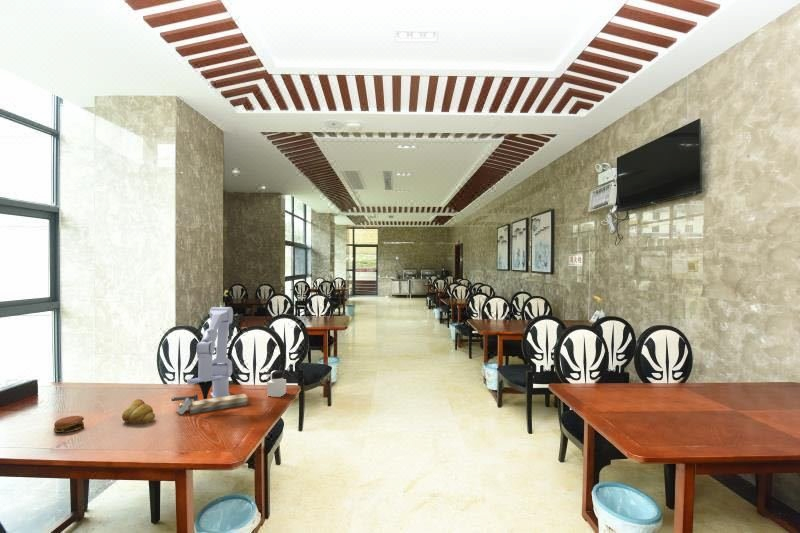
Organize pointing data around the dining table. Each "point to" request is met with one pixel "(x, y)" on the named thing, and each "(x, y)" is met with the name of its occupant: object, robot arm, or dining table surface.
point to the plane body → (218, 403)
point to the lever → (185, 398)
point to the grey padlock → (276, 384)
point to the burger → (69, 424)
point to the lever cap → (184, 405)
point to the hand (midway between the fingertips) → (205, 398)
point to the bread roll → (138, 413)
